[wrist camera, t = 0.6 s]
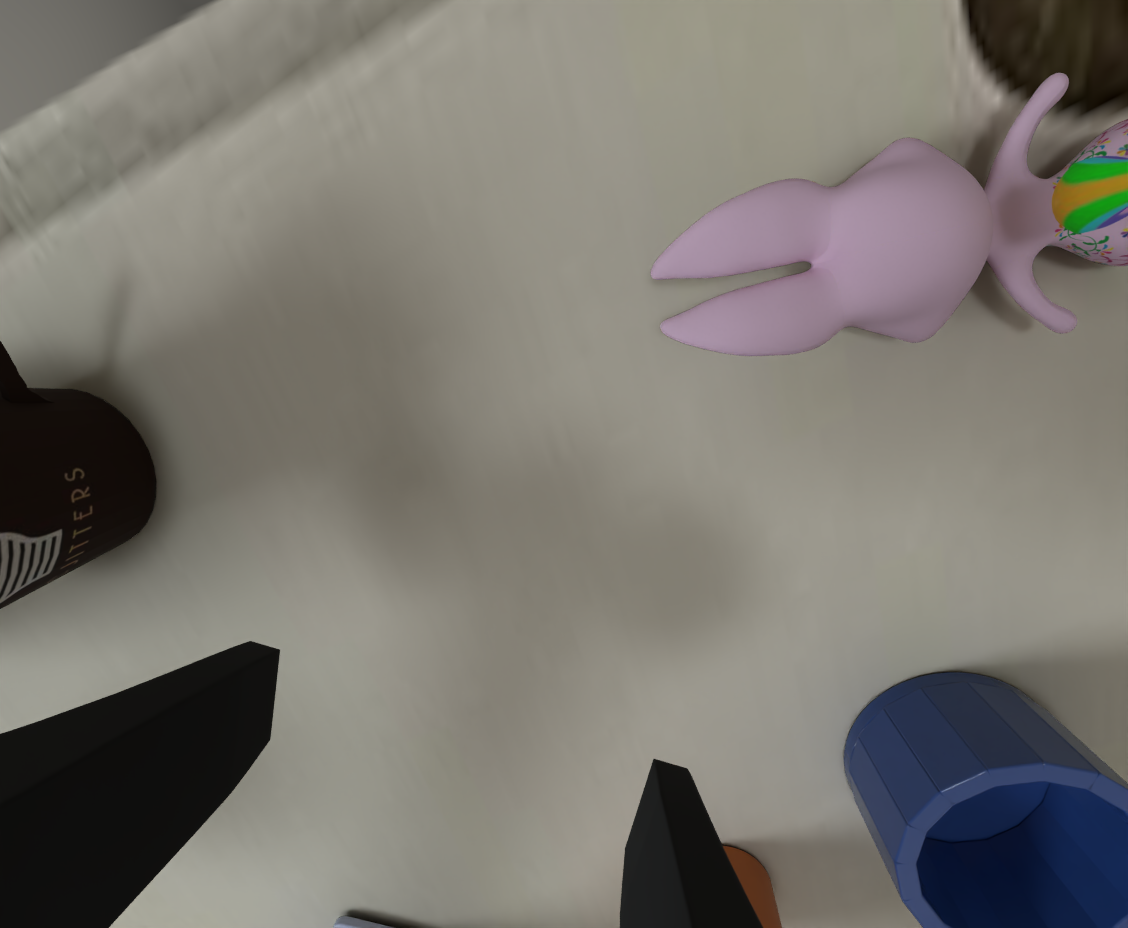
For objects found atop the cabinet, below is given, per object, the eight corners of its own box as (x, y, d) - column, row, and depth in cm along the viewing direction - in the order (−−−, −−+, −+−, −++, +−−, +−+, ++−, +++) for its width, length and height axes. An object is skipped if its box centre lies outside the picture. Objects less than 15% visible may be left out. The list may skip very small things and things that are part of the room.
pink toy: (1144, 78, 15) (624, 196, 15) (1516, -98, 9) (670, 96, 10) (1146, 303, 16) (663, 410, 17) (1478, 271, 11) (726, 437, 11)
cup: (1020, 857, 20) (1120, 992, 16) (823, 817, 20) (870, 936, 16) (1086, 692, 18) (1218, 795, 14) (870, 655, 19) (935, 742, 15)
